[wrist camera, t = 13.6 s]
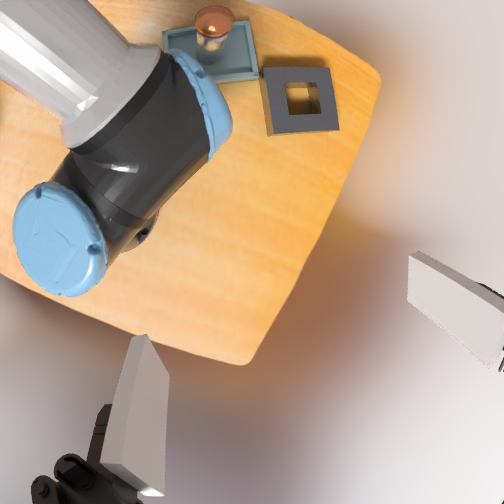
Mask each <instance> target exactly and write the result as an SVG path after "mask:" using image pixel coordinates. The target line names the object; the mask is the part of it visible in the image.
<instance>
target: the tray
mask: <svg viewBox="0 0 504 504" xmlns="http://www.w3.org/2000/svg"><path fill="white" fill-rule="evenodd" d="M162 35H163V47H164V51H166V50H170V49H172V48H176V49H180V50H183V51H185V52H186V53H188V54H189V55H190V56H192V57H193V58H194V59H195V60H196V61H197V62H198V63H199V64H200V65H201V66H202V68H203V70H204V72H205V74H207V75H209V76H210V77H211V78H212V79H213V80H214V82H215V83H216V84H223V83H231V82H241V81H252V80H257V78H258V77H259V72H258V66H257V60H256V55H255V49H254V43H253V38H252V32H251V27H250V22H249V21H234V24H233V27H232V29H231V31H230V32H229V33H228V35H227V38H226V41H225V45H224V48H223V52H222V55H221V58H220V60H219V61H218V62H216V63H214V64H211V65H206V64H203V63H201V62H200V61H199V60H198V59H197V56H196V53H197V31H196V28H195V26H189V27H183V28H177V29H172V30H167V31H162Z"/></svg>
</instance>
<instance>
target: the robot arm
mask: <svg viewBox="0 0 504 504" xmlns="http://www.w3.org/2000/svg"><path fill="white" fill-rule="evenodd" d="M0 80H2V81H3V82H5V83H6V84H8V85H9V86H11V87H12V88H13V89H15V90H16V91H18V92H19V93H21V94H22V95H24V96H25V97H26V98H28V99H29V100H31V101H32V102H34V103H35V104H37V105H38V106H39V107H41V108H42V109H44V110H45V111H47V112H48V113H50V114H51V115H52V116H54V117H55V118H57V119H58V120H59V123H60V131H61V141H62V144H63V145H64V146H65V147H67V148H68V149H70V150H71V151H70V152H69V153H68V155H67V156H66V157H65V159H64V160H63V161H62V163H61V164H60V166H59V167H58V169H57V170H56V171H55V173H54V174H53V176H52V177H51V179H50V180H49V181H48V182H43V183H41V184H37V185H36V186H34V188H33V189H31V190H30V191H28V192H27V193H26V194H25V195H24V196H23V197H22V199H21V200H20V202H19V204H18V206H17V208H16V211H15V214H14V219H13V240H14V243H15V245H16V248H17V255H18V258H19V260H20V262H21V264H22V266H23V267H24V269H25V271H26V272H27V273H28V275H29V276H30V277H31V278H32V279H33V280H34V281H35V282H36V283H37V284H38V285H39V286H40V287H42V288H43V289H45V290H46V291H48V292H50V293H52V294H55V295H58V296H61V295H62V296H67V297H75V296H79V295H82V294H84V293H86V292H87V291H89V290H90V289H91V288H92V287H93V286H95V285H97V284H98V283H99V282H100V281H101V280H102V278H103V277H104V275H105V272H106V270H107V269H108V267H109V266H110V265H111V264H112V262H113V261H114V260H115V259H116V257H117V256H118V255H119V254H120V253H123V252H127V251H129V250H132V249H133V248H135V247H137V246H138V245H140V244H141V243H142V242H143V241H144V240H145V239H146V238H147V236H148V235H149V234H150V232H151V231H152V229H153V227H154V225H155V223H156V220H157V216H158V210H159V209H160V208H161V207H162V206H163V204H164V203H165V202H166V201H167V200H168V199H169V198H170V197H171V196H172V195H173V194H174V193H175V192H176V191H177V190H178V189H179V188H180V187H181V186H182V185H183V184H184V183H185V182H186V181H187V180H188V179H189V178H190V177H191V176H193V175H194V174H195V173H196V172H197V171H198V170H199V169H200V168H201V167H202V166H203V165H204V164H205V163H208V162H209V160H211V158H212V156H213V154H214V153H215V152H216V151H217V150H218V149H219V148H220V147H221V146H222V145H223V144H224V143H225V142H226V141H227V140H228V138H229V137H230V135H231V132H232V127H233V123H232V116H231V113H230V110H229V107H228V105H227V102H226V100H225V98H224V96H223V95H222V93H221V91H220V90H219V88H218V86H217V85H216V83H215V82H214V80H213V79H212V78H211V77H210V76H209V75H207V74H205V72H204V70H203V68H202V66H201V65H200V64H199V63H198V62H197V61H196V60H195V59H194V58H193V57H192V56H190V55H189V54H188V53H186V52H185V51H183V50H180V49H176V48H172V49H170V50H166V51H162V50H161V49H160V47H159V46H158V45H157V44H155V43H132V42H129V41H128V40H127V39H126V38H125V37H124V36H123V35H122V34H121V33H120V32H119V31H118V30H117V29H116V28H115V27H114V26H113V25H112V24H111V23H110V22H109V21H108V20H107V19H106V18H105V17H104V16H103V15H102V14H101V13H100V12H99V11H98V10H97V9H96V8H95V7H94V6H93V5H92V4H91V3H90V2H89V1H88V0H0ZM407 301H409V302H410V303H411V304H412V305H414V306H415V307H416V308H417V309H419V310H420V311H421V312H422V313H424V314H425V315H426V316H427V317H429V318H430V319H431V320H432V321H433V322H435V323H436V324H437V325H438V326H440V327H441V328H442V329H444V331H446V332H447V333H448V334H449V335H450V336H452V337H453V338H454V339H455V340H456V341H457V342H459V343H460V344H461V345H462V346H463V347H464V348H466V349H467V350H468V351H469V352H470V353H471V354H472V355H473V356H475V357H476V358H477V359H478V360H479V361H480V362H481V363H482V364H483V365H485V366H486V367H487V368H488V369H489V368H490V367H491V366H492V365H493V364H494V363H495V362H497V360H498V359H499V356H500V354H501V352H502V350H504V296H502V295H500V294H498V293H497V292H496V291H493V290H492V289H491V288H489V287H487V286H486V285H484V284H481V283H477V282H474V281H473V280H471V279H469V278H467V277H466V276H464V275H462V274H461V273H459V272H457V271H455V270H453V269H452V268H450V267H448V266H446V265H444V264H443V263H441V262H439V261H437V260H435V259H433V258H431V257H430V256H427V255H426V254H424V253H421V252H420V251H418V252H416V253H413V254H411V255H409V277H408V296H407ZM503 365H504V358H503V360H502V362H501V365H500V367H499V372H501V370H502V368H503ZM503 372H504V370H503ZM169 380H170V376H169V374H168V372H167V370H166V369H165V367H164V365H163V363H162V362H161V360H160V358H159V356H158V354H157V352H156V351H155V349H154V347H153V345H152V343H151V341H150V339H149V337H148V335H147V334H144V335H139V336H135V337H132V339H131V342H130V346H129V349H128V352H127V355H126V358H125V362H124V365H123V368H122V372H121V375H120V378H119V382H118V386H117V389H116V393H115V397H114V401H113V404H105V405H104V406H103V408H102V409H101V411H100V412H99V413H98V416H97V419H96V423H95V425H96V427H94V431H93V436H92V439H91V443H90V448H89V452H88V456H87V460H86V461H85V460H83V459H82V458H81V457H80V456H78V455H76V454H66V455H64V456H62V457H61V458H60V459H59V460H58V461H57V462H56V464H55V467H54V476H55V478H56V479H57V480H59V482H55V481H54V480H53V479H51V478H50V477H48V476H45V475H43V476H39V477H37V478H36V479H35V480H34V481H33V483H32V486H31V495H32V502H33V504H143V503H142V501H141V500H139V499H138V498H137V491H139V492H141V493H142V494H144V495H145V496H165V444H166V443H165V442H166V421H167V406H168V391H169ZM502 504H504V501H503V502H502Z"/></svg>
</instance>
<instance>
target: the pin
mask: <svg viewBox="0 0 504 504" xmlns="http://www.w3.org/2000/svg"><path fill="white" fill-rule="evenodd" d="M233 24H234V15H233V13H232V12H231V11H230V10H229V9H227V8H225V7H223V6H208V7H205V8H203V9H202V10H200V11H199V12H198V13H197V15H196V18H195V28H196V31H197V53H196V56H197V59H198V60H199V61H200V62H201V63H203V64H206V65H211V64H214V63H216V62H218V61H219V60H220V58H221V55H222V52H223V48H224V45H225V41H226V38H227V35H228V33H229V32H230V31H231V29H232V27H233Z"/></svg>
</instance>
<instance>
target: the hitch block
mask: <svg viewBox="0 0 504 504" xmlns="http://www.w3.org/2000/svg"><path fill="white" fill-rule="evenodd" d="M259 82H260V89H261V95H262V101H263V108H264V114H265V121H266V128H267V135H268V136H277V135H288V134H301V133H317V132H332V131H338V130H339V123H338V115H337V109H336V102H335V96H334V90H333V85H332V79H331V74H330V69H329V68H324V67H263V69H262V70H261V71H260V73H259ZM285 88H308V93H309V100H310V106H311V112H312V114H302V115H289V111H288V104H287V98H286V92H285Z"/></svg>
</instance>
